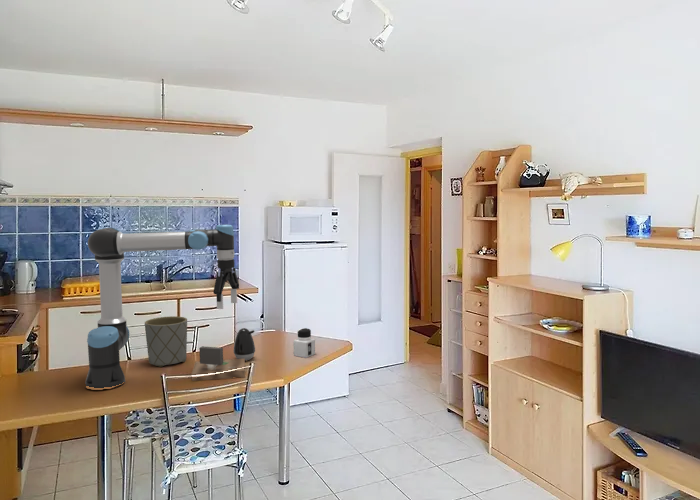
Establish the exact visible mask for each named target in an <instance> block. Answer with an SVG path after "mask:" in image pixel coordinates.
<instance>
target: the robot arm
mask: <svg viewBox="0 0 700 500" xmlns="http://www.w3.org/2000/svg"><path fill="white" fill-rule="evenodd" d="M234 233H235V231H234V226H233V225H231V224H217V225H216V226H215V228H214V229H189V231H169V232H164V231H163V232H140V233H139V232H136V233H123V232H122V231H121V230H120V229H118V228H114V227H105V228H101V229H97V230H95V231H93V232H92V233H91V234H90V235H89V237H88V239H87V247H88V250H89V251H90V252H91V253H92V254H93V255H94V260H95V261H96V262H97V264H98V271H99V273H98V274H99V275H98V276H99V295H100V296H99V298H100V299H99V300H100V318H99V319H98V320H97V327H96V328H93V329H91V330H90V331H89V332H88V333H87V339H86V340H87V341H86V342H87V350H88V351H87V353H88V372H87V375H86V378H85V381H84V383H85V384H86V386H89V387H94V388H104V387H112V386H116V385H119V384H122V383H123V382H125V383H126V376H125V373H124V371H123V369H122V367H121V364H120V363H121V362H120V350H121V349H123V348H124V347H125V346H126V345H127V343H128V341H129V340H130V339H129V338H130V330H129V327H128V326H127V319H126V318H125V317H124V316H123V295H122V293H123V292H122V273H121V272H122V269H121V268H122V267H121V265H122V262H123V260H124V259H125V253H129V252H131V253H132V252H136V253H137V252H155V251H156V252H157V251H180V250H181V251H182V250H196V251H198V250H199V251H200V250H203V249H205V248H206V247H216V259H217V260H216V262H217V265H216V266H217V267H216V268H218V269H220V271H216V277H215V283H214V287H213V294H214V295H216V309H217V310H223V309H224V294H223V290H224V287H225V286H226V285H225V284H226V283H227V281H228V284H229V285H230V303H231V304H237V303H238V291H237V290H238V289H240V284H239V280H238V276H237V272H236V267H235V266H236V265H235V259H234V258H235V254H236V252H235V234H234ZM85 384H84V385H85Z"/></svg>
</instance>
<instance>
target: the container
mask: <svg viewBox="0 0 700 500" xmlns="http://www.w3.org/2000/svg"><path fill="white" fill-rule="evenodd" d="M296 334H297V339H294V340H293V356H294V357H301V358H305V359H306V358H309V357H311V356H314V355H315V354H316V339H315V338H312V331H311V329H310V328H307V327H304V328H303V327H302V328H299V329H298V330H297V333H296Z"/></svg>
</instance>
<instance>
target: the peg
mask: <svg viewBox="0 0 700 500" xmlns="http://www.w3.org/2000/svg"><path fill="white" fill-rule="evenodd" d="M198 348H199V351H198V352H199V361H200V364H207V368H208V370H215V369H216V366H217V365H222V364H223V362H224V361H223V360H224V347H218V346H217V347H216V346H201V347H198Z"/></svg>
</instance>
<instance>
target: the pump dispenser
mask: <svg viewBox="0 0 700 500" xmlns="http://www.w3.org/2000/svg"><path fill="white" fill-rule="evenodd" d="M254 333H255V330H249V329H248V328H246V327H243V328H241V329H239V330H238V332H237V334H236V336H235V340H234V344H233V354H234V357H235V359H245V362H247V361H249V360H251V359H252V358H253V357H254V356H255V352H256V346H255V341H254V337H253V336H252V334H254ZM246 360H247V361H246Z"/></svg>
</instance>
